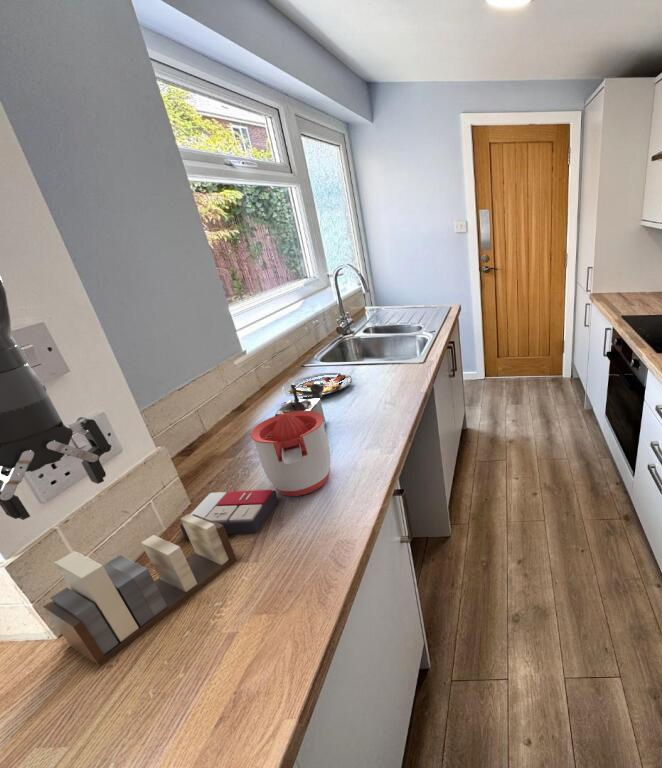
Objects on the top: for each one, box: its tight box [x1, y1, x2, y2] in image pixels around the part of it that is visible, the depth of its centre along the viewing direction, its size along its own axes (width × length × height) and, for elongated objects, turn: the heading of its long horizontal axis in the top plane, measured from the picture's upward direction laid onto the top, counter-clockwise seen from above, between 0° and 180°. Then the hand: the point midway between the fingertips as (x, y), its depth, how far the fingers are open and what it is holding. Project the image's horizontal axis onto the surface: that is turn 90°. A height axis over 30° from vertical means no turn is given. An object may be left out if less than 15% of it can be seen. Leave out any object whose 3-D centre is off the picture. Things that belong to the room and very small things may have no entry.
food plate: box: [281, 372, 353, 398], centre depth 159 cm, size 25×23×4 cm
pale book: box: [54, 550, 139, 641], centre depth 64 cm, size 8×2×14 cm, turn 67°
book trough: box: [42, 513, 238, 667], centre depth 71 cm, size 9×22×10 cm, turn 157°
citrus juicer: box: [250, 411, 331, 497], centre depth 99 cm, size 16×17×20 cm
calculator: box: [179, 489, 279, 539], centre depth 91 cm, size 11×4×15 cm
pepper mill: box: [274, 382, 327, 428], centre depth 124 cm, size 16×11×18 cm
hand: (63, 498), depth 61 cm, fingers open, 8 cm apart
